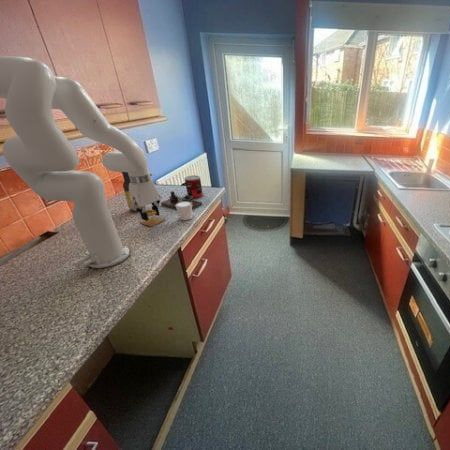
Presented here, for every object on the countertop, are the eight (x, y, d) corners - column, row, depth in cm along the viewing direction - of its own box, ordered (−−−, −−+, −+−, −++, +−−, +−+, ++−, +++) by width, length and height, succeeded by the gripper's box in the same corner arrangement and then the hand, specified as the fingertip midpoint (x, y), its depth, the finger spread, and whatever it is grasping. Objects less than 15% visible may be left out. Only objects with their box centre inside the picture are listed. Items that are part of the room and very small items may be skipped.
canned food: (187, 194, 144) (184, 176, 139) (202, 192, 147) (199, 174, 142) (188, 199, 138) (184, 180, 133) (203, 197, 141) (200, 178, 136)
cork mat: (151, 226, 110) (151, 225, 110) (140, 223, 112) (140, 222, 112) (164, 220, 115) (164, 219, 115) (153, 217, 118) (153, 216, 118)
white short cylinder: (183, 222, 114) (180, 208, 111) (175, 217, 118) (172, 204, 115) (196, 217, 119) (194, 203, 116) (188, 213, 123) (186, 200, 120)
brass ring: (149, 217, 109) (148, 214, 108) (141, 214, 110) (140, 212, 110) (158, 212, 113) (158, 210, 112) (151, 210, 114) (150, 208, 114)
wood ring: (187, 202, 125) (187, 200, 124) (180, 200, 126) (179, 198, 126) (195, 198, 129) (194, 196, 128) (187, 197, 130) (187, 195, 130)
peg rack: (187, 211, 124) (185, 199, 121) (161, 205, 130) (158, 193, 127) (202, 204, 132) (200, 193, 129) (176, 198, 138) (174, 187, 135)
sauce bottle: (137, 212, 121) (125, 173, 112) (126, 211, 122) (113, 171, 113) (147, 207, 127) (136, 169, 118) (137, 206, 128) (125, 168, 119)
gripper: (151, 172, 112) (161, 209, 121) (114, 182, 98) (127, 223, 107) (164, 174, 110) (172, 212, 118) (126, 185, 96) (139, 227, 104)
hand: (151, 217), depth 112 cm, fingers closed on brass ring, 4 cm apart
